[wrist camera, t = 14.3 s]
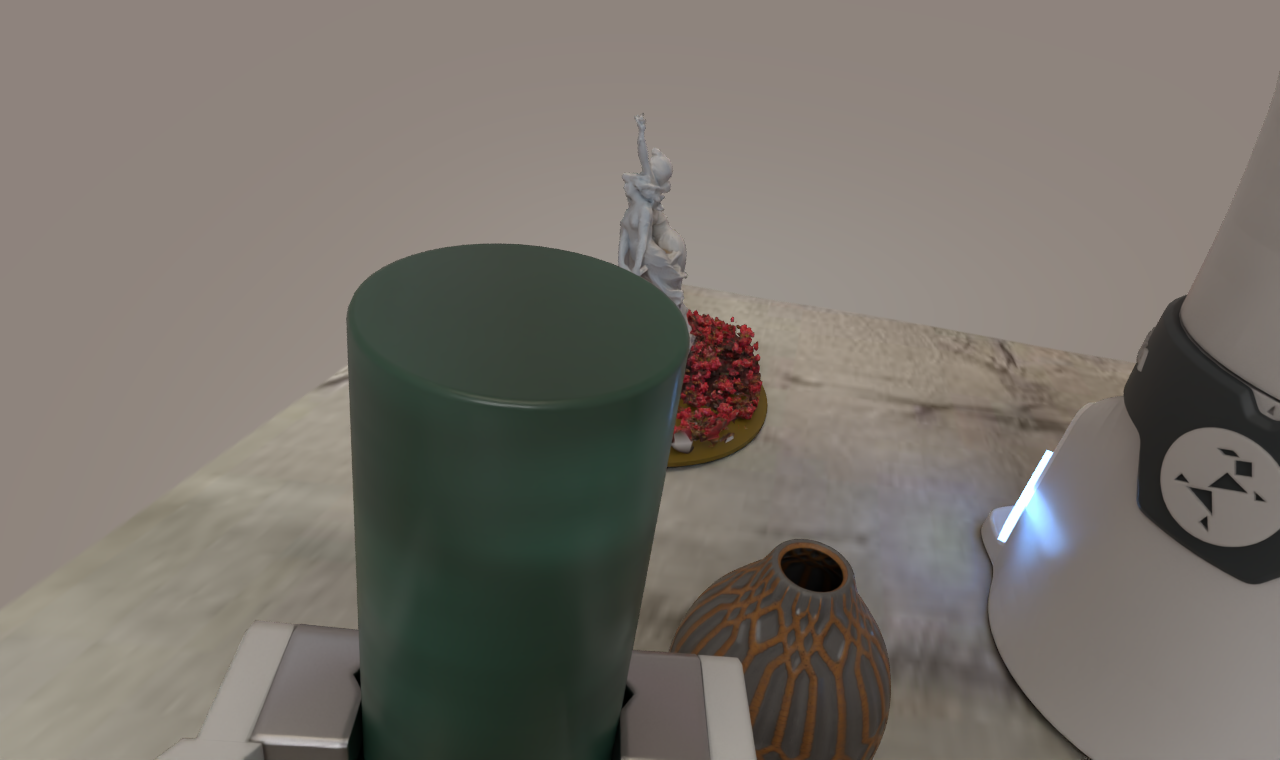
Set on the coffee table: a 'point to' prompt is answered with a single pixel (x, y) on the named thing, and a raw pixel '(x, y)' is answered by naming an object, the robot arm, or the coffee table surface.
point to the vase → (798, 652)
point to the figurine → (691, 327)
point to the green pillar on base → (505, 496)
